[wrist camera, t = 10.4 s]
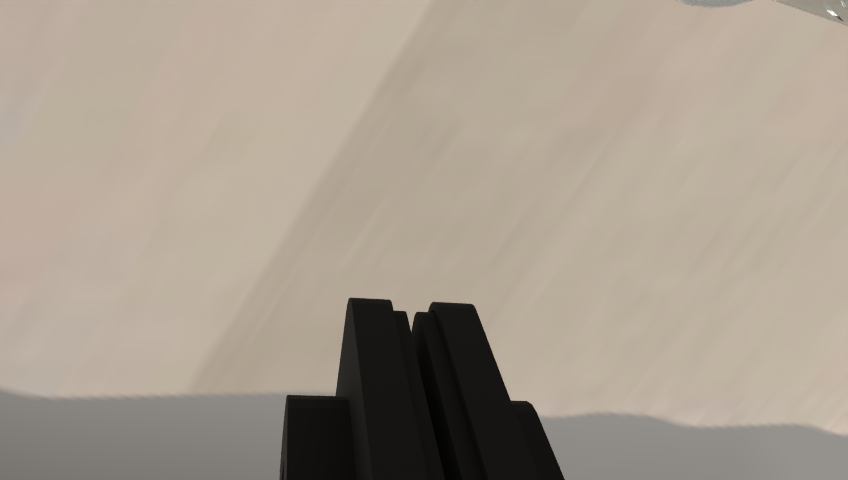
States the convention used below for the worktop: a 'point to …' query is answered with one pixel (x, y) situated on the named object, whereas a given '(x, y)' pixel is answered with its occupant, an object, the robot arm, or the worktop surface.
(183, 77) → the worktop surface
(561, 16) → the worktop surface
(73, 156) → the worktop surface
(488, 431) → the robot arm
